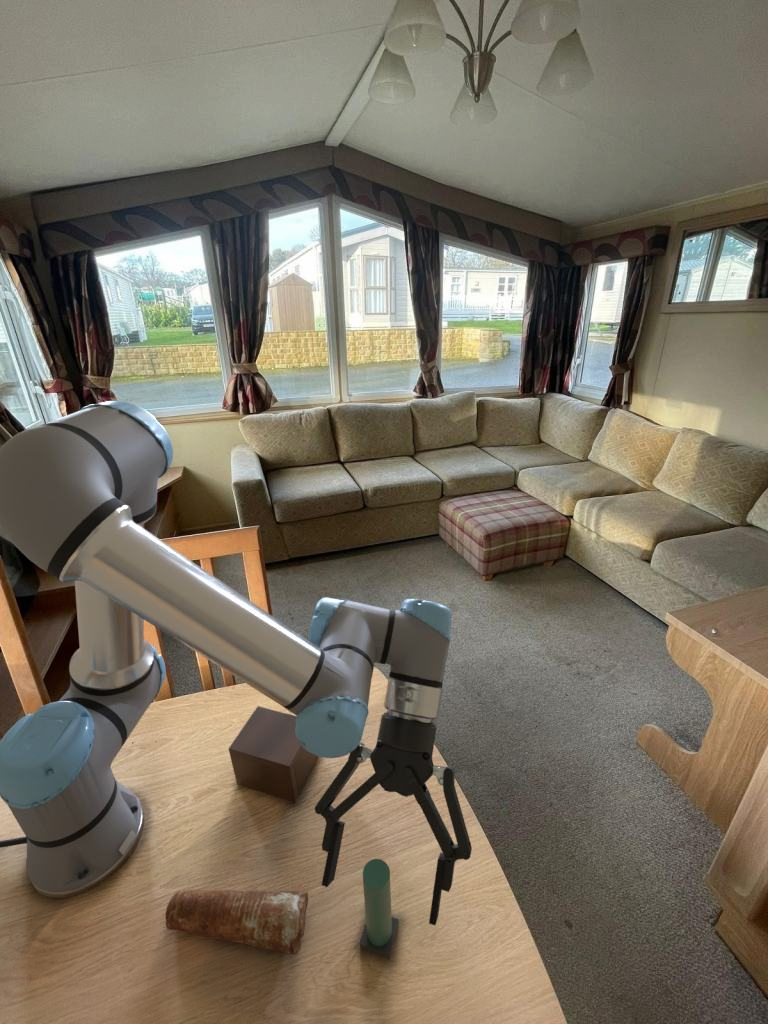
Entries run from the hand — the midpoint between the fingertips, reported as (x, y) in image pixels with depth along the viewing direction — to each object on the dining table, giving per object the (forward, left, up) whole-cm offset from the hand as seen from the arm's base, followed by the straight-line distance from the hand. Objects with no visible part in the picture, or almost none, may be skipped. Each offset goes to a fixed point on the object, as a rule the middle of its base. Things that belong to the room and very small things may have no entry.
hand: (378, 900), depth 59 cm
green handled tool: (0, 0, -8) cm, 8 cm away
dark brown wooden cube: (-24, +17, -8) cm, 30 cm away
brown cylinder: (-18, -5, -8) cm, 21 cm away
